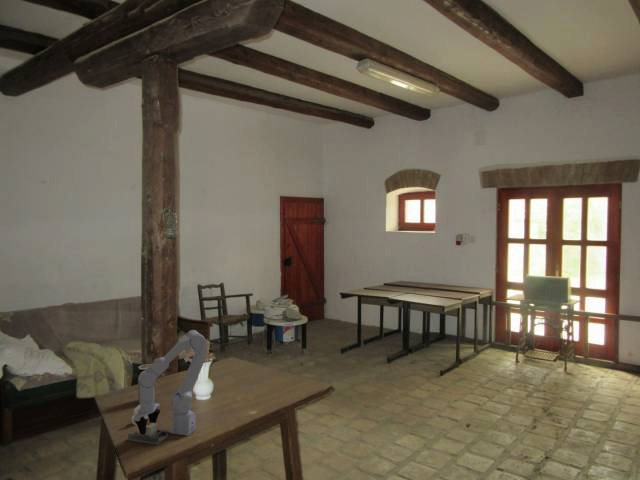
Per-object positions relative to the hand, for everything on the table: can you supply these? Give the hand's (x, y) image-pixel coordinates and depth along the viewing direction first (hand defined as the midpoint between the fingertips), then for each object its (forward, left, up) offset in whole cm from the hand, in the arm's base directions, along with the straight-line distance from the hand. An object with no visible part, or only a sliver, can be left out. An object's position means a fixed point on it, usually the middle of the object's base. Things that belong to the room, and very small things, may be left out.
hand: (147, 430), depth 203 cm
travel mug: (+25, -34, -4) cm, 43 cm away
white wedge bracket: (+13, -12, -4) cm, 18 cm away
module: (0, 0, -2) cm, 2 cm away
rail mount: (0, 0, -3) cm, 3 cm away
